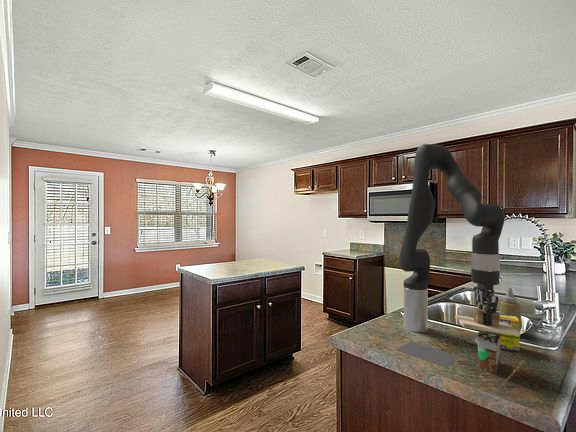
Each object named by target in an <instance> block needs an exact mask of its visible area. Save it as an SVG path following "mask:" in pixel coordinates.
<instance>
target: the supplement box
mask: <svg viewBox="0 0 576 432" xmlns="http://www.w3.org/2000/svg"><path fill="white" fill-rule="evenodd" d="M499 322H506V323H508V324H509V325H510V326H512V327H513V328H515V329H516V330H517V331H519V332H520V333H521V330H520V322H519V320H518V318H517V317H516V316H507V315H500V320H499ZM500 337H501V338H500V351H501V350H504V351H509V352H515V353H520V338H521V335H520V336H515V335H509V334H502V333H500Z"/></svg>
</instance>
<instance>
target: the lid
mask: <svg viewBox="0 0 576 432" xmlns="http://www.w3.org/2000/svg"><path fill="white" fill-rule="evenodd" d="M454 319H456V320H457V322H458V323H459V324H460V325H461V326H462V327H463V328H464V329H465V328H466V329H472V330H478V331H490V332H496V333H502V334H509V335H515V336H520V337H521V331H520V332H519V331H517V330H516V329H515V328H513V327H512V326H510V325H509V324H508V323H506V322H499V320H500V313H499V311H497V310H496V313H493V314H492V325H491V326H488V325H484V324H483V309H480V308H478V307H474V314H473V317H471V316H465V315H457V314H455V318H454Z"/></svg>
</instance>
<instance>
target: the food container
mask: <svg viewBox="0 0 576 432" xmlns="http://www.w3.org/2000/svg"><path fill="white" fill-rule="evenodd" d="M500 338H501V337H500V333H496V332H490V331H483V330H480V331H478V332H477V333H476V335H475V339H474V342H475V343H476V344H477V352H478V366H479V367H480V368H481V370H483V371H485V372H487V373H489V374H492V375H496V376H497V374H498V370H499V366H500V363H501V349H500Z"/></svg>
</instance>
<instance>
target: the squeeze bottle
mask: <svg viewBox="0 0 576 432" xmlns="http://www.w3.org/2000/svg"><path fill="white" fill-rule="evenodd" d="M498 313H500V315H507V316H516V317H517V318H518V320H519V322H520V331H522V327H523V323H522V314H521V313H522V312H521V306H520V304H519V302H518V298H517V296H514V293H513V289H512V287H507V291H506V294H505V295H502V300H501V301H500V302H499V308H498Z"/></svg>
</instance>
